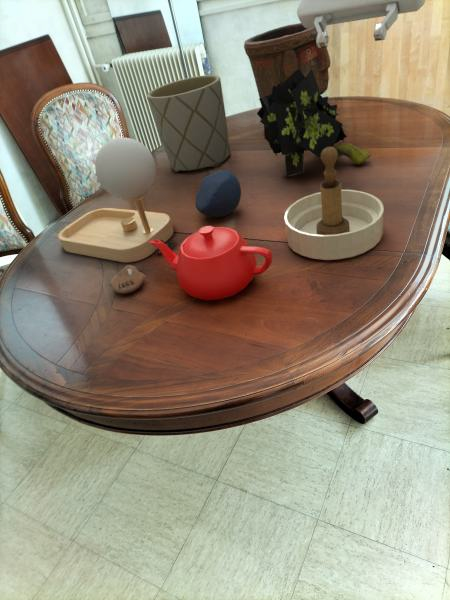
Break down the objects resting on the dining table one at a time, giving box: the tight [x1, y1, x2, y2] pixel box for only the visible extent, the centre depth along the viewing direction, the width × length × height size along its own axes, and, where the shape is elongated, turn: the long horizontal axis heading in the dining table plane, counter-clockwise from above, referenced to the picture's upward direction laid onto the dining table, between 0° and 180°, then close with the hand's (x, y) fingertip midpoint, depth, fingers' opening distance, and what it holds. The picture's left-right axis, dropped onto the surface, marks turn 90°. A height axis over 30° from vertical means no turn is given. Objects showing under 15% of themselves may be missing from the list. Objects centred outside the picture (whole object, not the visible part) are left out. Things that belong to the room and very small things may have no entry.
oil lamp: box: [108, 264, 147, 294], centre depth 87 cm, size 9×4×8 cm
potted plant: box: [256, 69, 371, 178], centre depth 110 cm, size 21×22×30 cm
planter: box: [146, 74, 231, 173], centre depth 133 cm, size 23×23×24 cm
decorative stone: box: [195, 169, 242, 218], centre depth 103 cm, size 12×12×10 cm
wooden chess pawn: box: [316, 147, 350, 235], centre depth 81 cm, size 7×6×18 cm
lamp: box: [57, 136, 175, 263], centre depth 98 cm, size 33×17×25 cm, turn 59°
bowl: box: [283, 189, 385, 261], centre depth 85 cm, size 19×19×6 cm
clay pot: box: [243, 22, 331, 107], centre depth 136 cm, size 25×29×30 cm
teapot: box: [149, 225, 273, 301], centre depth 79 cm, size 25×16×12 cm, turn 69°
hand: (349, 42), depth 68 cm, fingers open, 8 cm apart
